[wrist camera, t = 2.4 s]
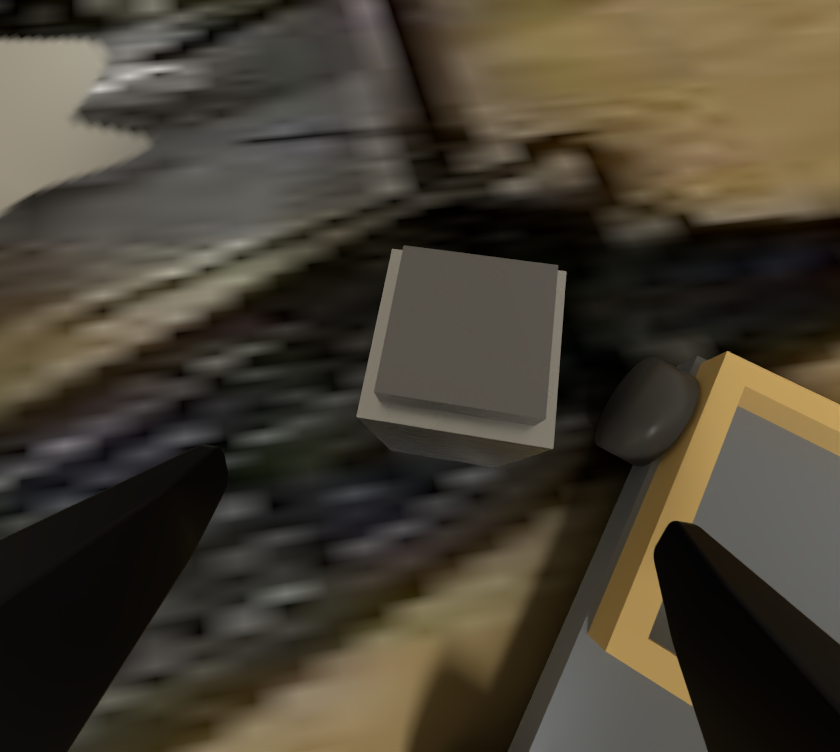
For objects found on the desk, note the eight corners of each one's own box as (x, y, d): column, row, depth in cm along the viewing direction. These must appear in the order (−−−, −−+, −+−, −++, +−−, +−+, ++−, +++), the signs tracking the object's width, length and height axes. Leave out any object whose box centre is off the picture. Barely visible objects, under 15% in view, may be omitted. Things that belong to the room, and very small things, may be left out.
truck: (805, 1220, 12) (1101, 1796, 7) (382, 876, 14) (354, 1100, 9) (958, 525, 17) (1192, 541, 12) (627, 360, 20) (699, 312, 14)
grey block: (495, 467, 18) (566, 444, 9) (390, 450, 19) (348, 409, 9) (507, 367, 20) (579, 250, 10) (408, 352, 20) (388, 226, 10)
